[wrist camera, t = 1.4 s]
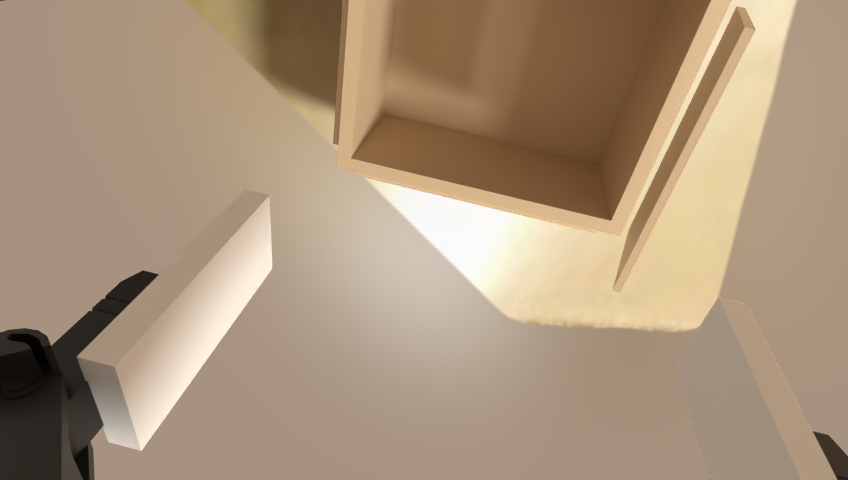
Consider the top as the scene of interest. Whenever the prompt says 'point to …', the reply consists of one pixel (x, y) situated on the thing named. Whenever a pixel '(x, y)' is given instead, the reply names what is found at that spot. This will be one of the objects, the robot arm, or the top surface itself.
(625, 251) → the flap
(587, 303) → the top surface
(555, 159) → the open wooden box
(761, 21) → the top surface
